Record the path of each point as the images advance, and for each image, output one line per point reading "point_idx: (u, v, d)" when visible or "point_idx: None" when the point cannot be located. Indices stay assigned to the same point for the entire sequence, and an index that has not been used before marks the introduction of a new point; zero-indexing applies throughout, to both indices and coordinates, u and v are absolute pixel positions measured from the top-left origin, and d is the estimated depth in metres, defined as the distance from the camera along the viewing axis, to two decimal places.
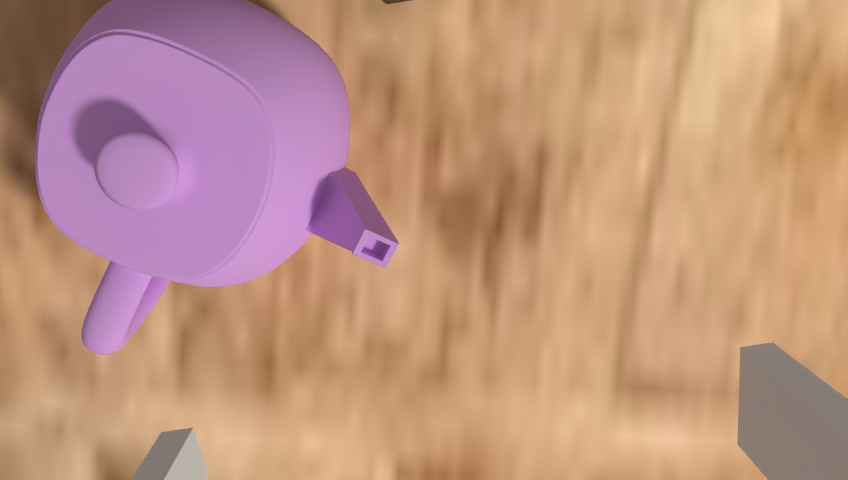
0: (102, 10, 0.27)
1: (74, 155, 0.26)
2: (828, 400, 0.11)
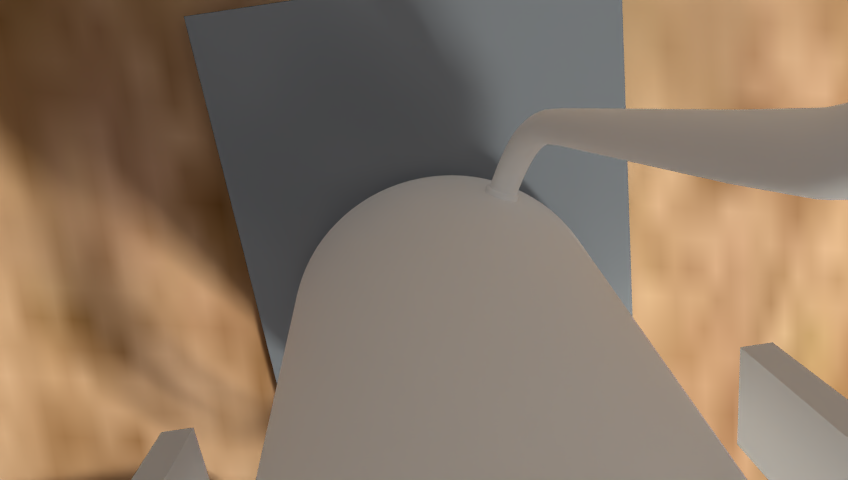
0: None
1: None
2: (828, 400, 0.11)
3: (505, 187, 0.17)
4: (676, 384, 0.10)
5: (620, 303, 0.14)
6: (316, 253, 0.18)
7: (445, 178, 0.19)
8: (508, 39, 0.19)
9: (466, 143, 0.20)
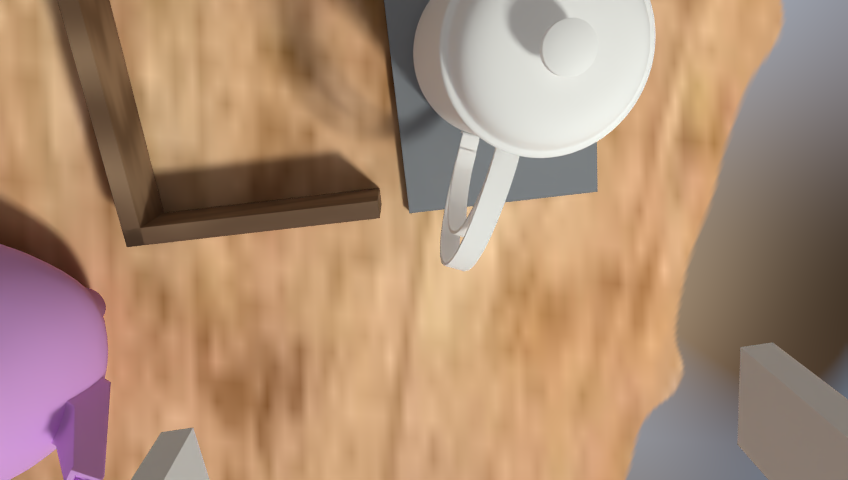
0: None
1: None
2: (828, 400, 0.11)
3: None
4: None
5: None
6: None
7: None
8: None
9: None
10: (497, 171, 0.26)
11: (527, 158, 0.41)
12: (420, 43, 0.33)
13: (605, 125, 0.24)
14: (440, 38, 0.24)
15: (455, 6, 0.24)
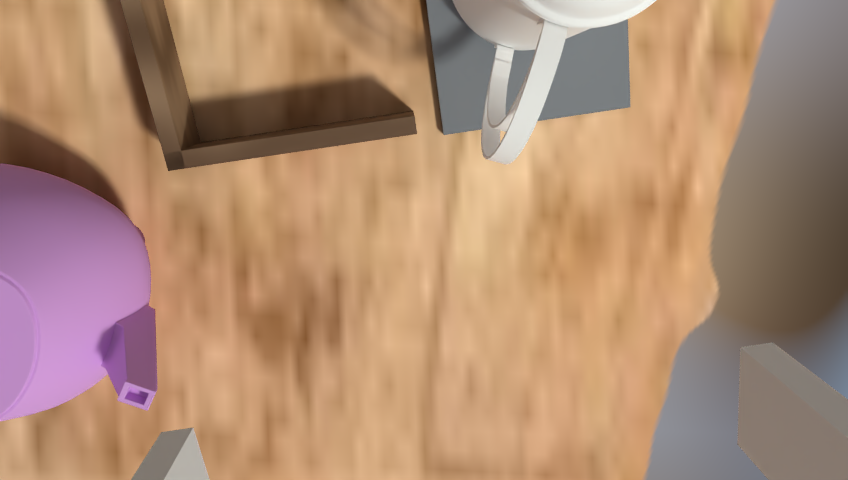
0: None
1: None
2: (828, 400, 0.11)
3: None
4: None
5: None
6: None
7: None
8: None
9: None
10: (546, 44, 0.27)
11: (560, 74, 0.41)
12: None
13: None
14: None
15: None
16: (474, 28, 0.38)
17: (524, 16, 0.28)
